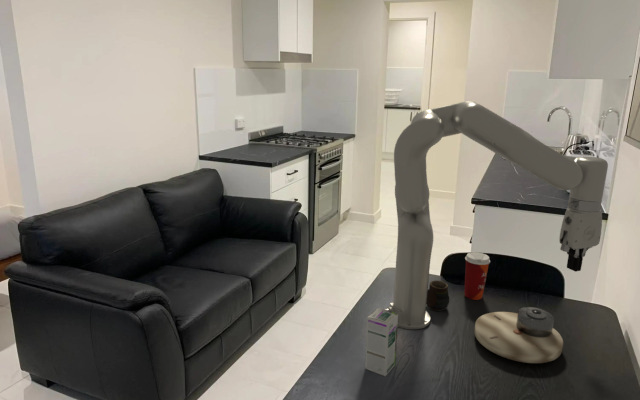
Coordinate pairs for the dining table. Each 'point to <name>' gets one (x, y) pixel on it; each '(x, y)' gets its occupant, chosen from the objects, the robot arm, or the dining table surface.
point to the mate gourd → (437, 295)
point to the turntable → (515, 339)
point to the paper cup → (475, 274)
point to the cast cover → (535, 322)
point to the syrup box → (381, 341)
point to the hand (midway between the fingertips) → (573, 269)
